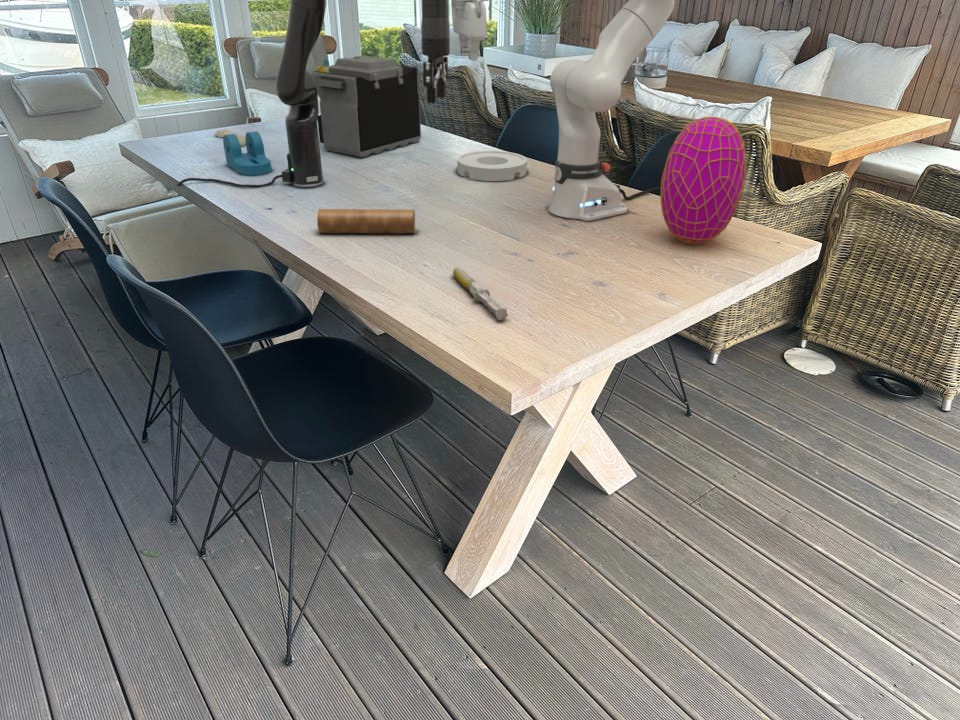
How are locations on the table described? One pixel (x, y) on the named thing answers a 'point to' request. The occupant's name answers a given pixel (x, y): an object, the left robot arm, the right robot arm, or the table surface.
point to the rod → (366, 221)
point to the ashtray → (492, 165)
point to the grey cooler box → (368, 105)
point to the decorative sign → (226, 132)
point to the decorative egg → (703, 179)
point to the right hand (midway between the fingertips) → (468, 57)
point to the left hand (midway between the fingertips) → (436, 100)
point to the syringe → (479, 293)
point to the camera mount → (246, 154)
